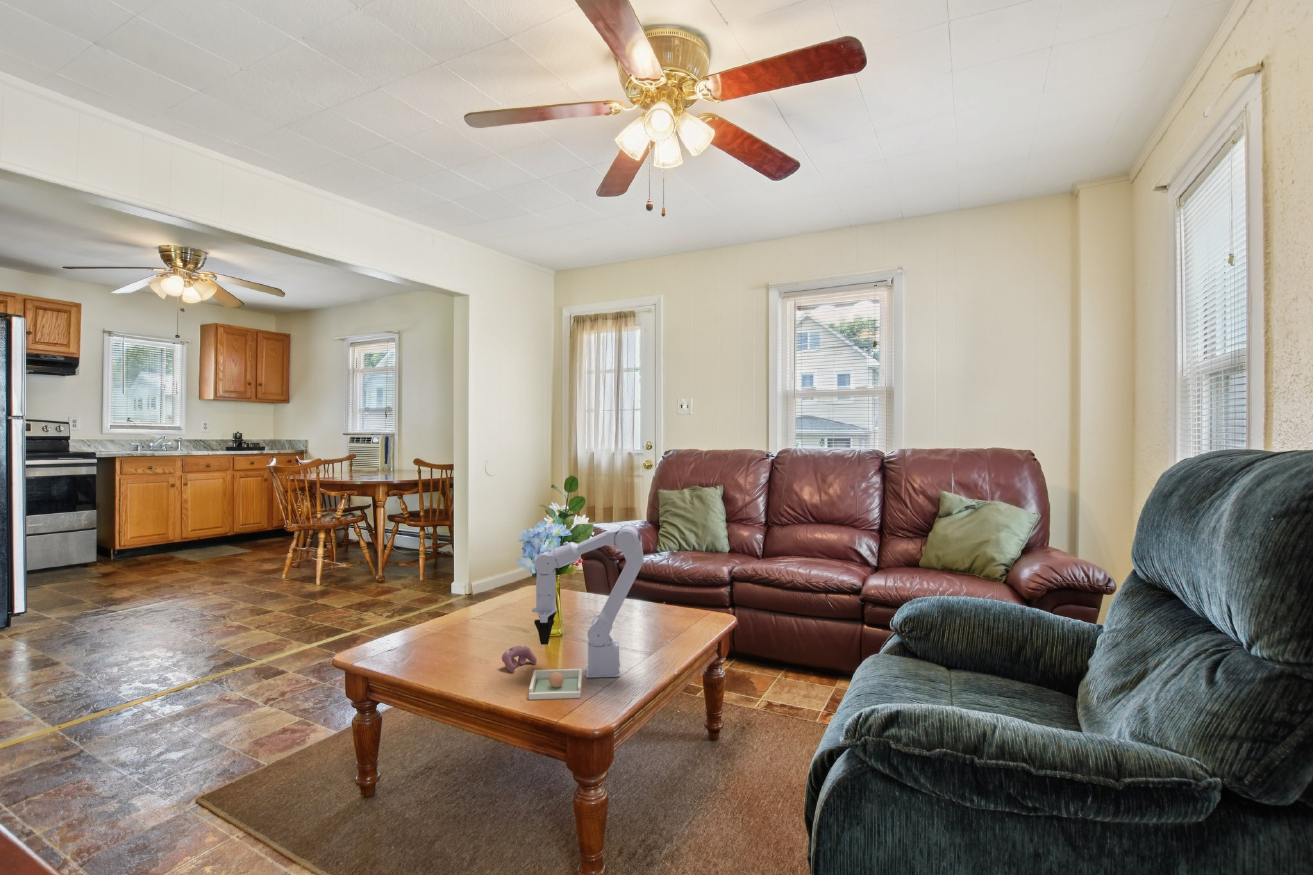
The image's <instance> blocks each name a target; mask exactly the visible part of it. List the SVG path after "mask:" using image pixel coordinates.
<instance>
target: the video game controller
mask: <svg viewBox="0 0 1313 875" xmlns="http://www.w3.org/2000/svg"><path fill="white" fill-rule="evenodd" d="M516 657H517V659H516ZM501 660H502V663H503V664H504V666H505V667H506V669H507V670H508V672H510V673H511V674H512V673H514V672H515V670H516V669H515V668H516V667H517V666H518V665H521V666H523V665H525V664H526V661H527V660H528V661H529V662H530V663H531V664H533V665H536V664H537V663H538V661H537V657H536V656H535V654H534V653H533V652H532V650H531V648H530V647H528V646H527V645H516V646H513V647H511V648H509V649H507V650H505V652H503V654H502V655H501Z"/></svg>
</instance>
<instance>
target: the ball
mask: <svg viewBox="0 0 1313 875" xmlns="http://www.w3.org/2000/svg"><path fill="white" fill-rule="evenodd" d="M563 681H564V678H563V675H562V674H561V673H559V672H554V673H552V674H551V676H550V677H549V683H550V685H551V686H552V687H555V688H557V687H560V686H561V685H562V684H563Z"/></svg>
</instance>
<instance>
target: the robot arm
mask: <svg viewBox="0 0 1313 875" xmlns="http://www.w3.org/2000/svg"><path fill="white" fill-rule="evenodd" d="M642 540H643V539H642V535H641V534H640V532H639V529H638V528H637V527H636V526H635V525H633V524H629V523H628V524H624V525H623V526H621V527H620V526H617V527H613V528H611V529H609V530H606V531H603V532H601V533H599V534H596V535H594V536H593V537H590V538H588V539H585V540H583V541H581V542H578V543H577V542H574V541H570V542H569V541H565V542H563V544H562V545H561V546H558V547H556V548H552V547H551V548H550V549H548V551H544V552H542V553H541V554H540V555H539V556H537V558H536V559H535V561H534V568H535V571H536V579H535V583H536V584H535V590H536V591H535V607H532V608H531V612H532V613H536V614H537V616H538V618H539V619H534V622H533V624H534V626H535V628H536V629H537V633H538V637H539V638H538V639H539V642H540V645H543V646H545V645H549V643H550V638H551V633H552V628H553V626H554V624H555V617H556V614H557V611H558V610H557V604H556V603H557V601H556V599H557V587H556V586H557V579H556V578H557V577H556V569H560V568H562V567H564V566H567V565H570V564H573V563H575V562H578V561H579V560H580V559H581V555H582V554H586V553H588V552H591V551H594V550H597V549H599V548H602V547H604V546H607V547H611V548H615V547H616V546H617V549H619V550H620V551H621V552H622V553H623V554H622V555H623V557H624V559H625V562H626V563H625V564H624V566H623V568H622V571H621V572H620V574H619V576H618V578H617V580H616V582H615V585H614V586H613V588H612V589H611V592H610V593H609V596H608V597H607V599H606V602H605V604H604V606H603V607H602V608H601V611H600V612H599V614H598V615H596V616H595V617H594V618H593V620H592V622H591V625H590V627H589V628H588V631H587V639H588V640H587V665H586V668H585V669H586V673H585V677H586V679H587V678H615V677H616V678H618V677H620V668H621V661H620V642H619V641H613V638H612V637H611V632H612V629H613V624H614V621H615V620H616V617H617V615H618V614H619V611H620V609H621V608H622V605H623V603H624V602H625V600H626V598H627V595H629V592H630V589H631V588H632V586H633V584H634V582H635V580H636V578H637V576H638V574H639V572H640V570H642V569H641V568H642V566H643V564H644V562H645V559H644V552H643V551H644V550H643V543H642Z"/></svg>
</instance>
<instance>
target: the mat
mask: <svg viewBox="0 0 1313 875" xmlns="http://www.w3.org/2000/svg"><path fill="white" fill-rule="evenodd" d="M567 691H578V678H564V681H563V684H562V685H561V686H560V687H557V688H555V687H552V686H551V685H550V683H549V679H538V680H536V684H535V688H534V692H533V693H537V692H567Z"/></svg>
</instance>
